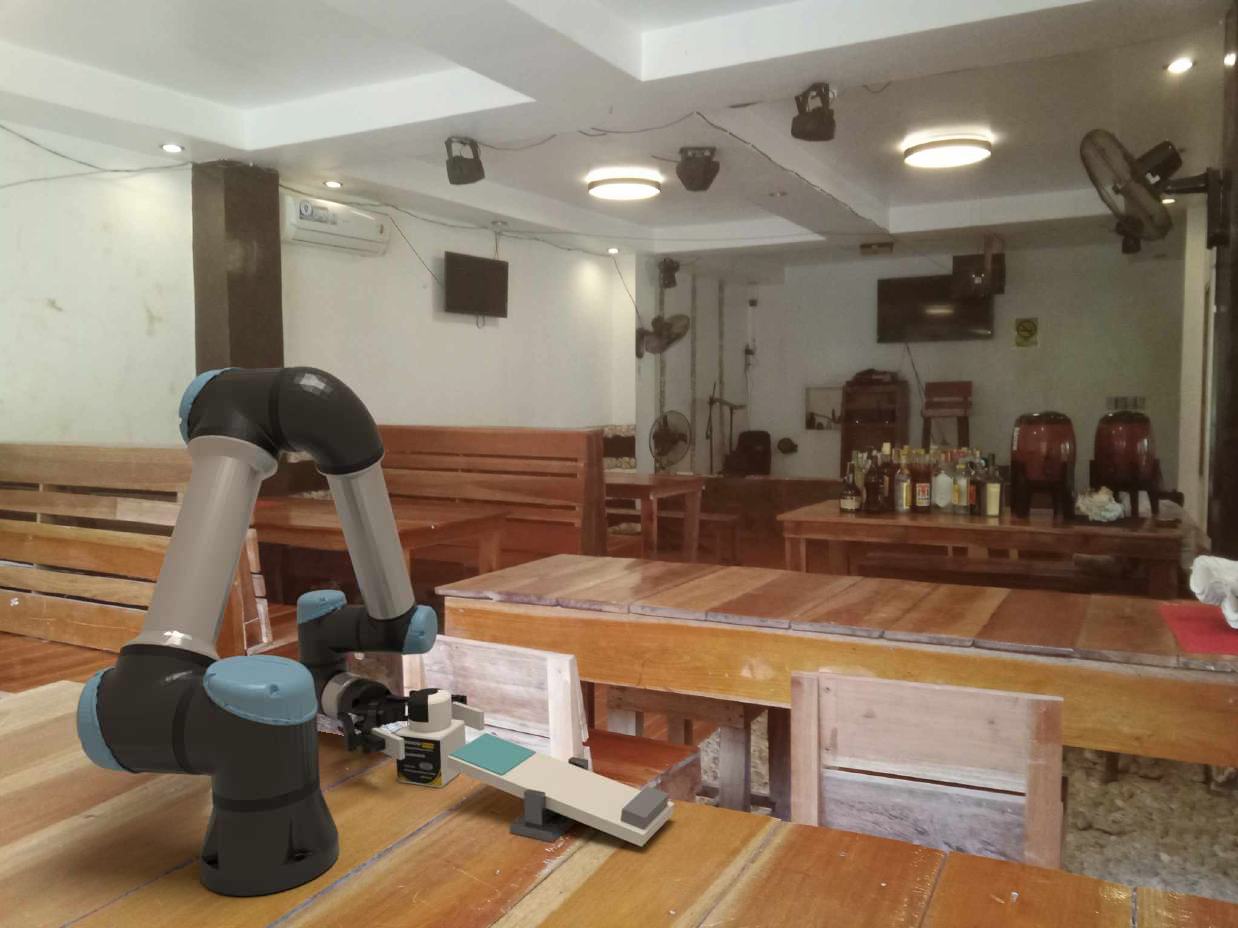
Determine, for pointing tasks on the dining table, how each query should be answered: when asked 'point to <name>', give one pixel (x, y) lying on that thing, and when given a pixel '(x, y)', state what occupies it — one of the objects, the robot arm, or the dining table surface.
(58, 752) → the dining table surface
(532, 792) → the fulcrum
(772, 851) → the dining table surface
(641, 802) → the beam
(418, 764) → the medicine bottle
